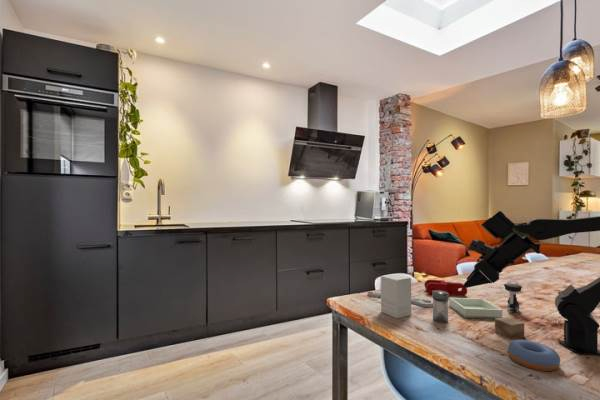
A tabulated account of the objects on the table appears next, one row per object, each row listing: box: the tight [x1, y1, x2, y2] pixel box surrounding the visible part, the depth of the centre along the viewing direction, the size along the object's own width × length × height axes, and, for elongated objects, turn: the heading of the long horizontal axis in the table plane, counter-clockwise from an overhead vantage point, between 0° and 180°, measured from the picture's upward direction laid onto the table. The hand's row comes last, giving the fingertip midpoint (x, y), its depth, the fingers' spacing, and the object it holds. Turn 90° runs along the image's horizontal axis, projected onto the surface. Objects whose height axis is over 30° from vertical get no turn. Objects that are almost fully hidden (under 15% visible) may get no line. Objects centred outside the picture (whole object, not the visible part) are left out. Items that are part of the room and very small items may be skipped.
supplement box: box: [380, 273, 412, 319], centre depth 103 cm, size 7×7×13 cm
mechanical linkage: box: [424, 278, 468, 297], centre depth 127 cm, size 16×7×5 cm, turn 73°
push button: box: [503, 281, 523, 314], centre depth 107 cm, size 7×5×10 cm
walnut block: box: [494, 316, 525, 340], centre depth 87 cm, size 5×5×4 cm
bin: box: [448, 297, 503, 320], centre depth 105 cm, size 12×12×3 cm
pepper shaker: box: [431, 290, 450, 324], centre depth 98 cm, size 5×5×9 cm
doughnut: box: [507, 339, 561, 372], centre depth 72 cm, size 10×10×5 cm
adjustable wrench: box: [367, 291, 433, 308], centre depth 119 cm, size 25×6×2 cm, turn 54°
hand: (466, 283), depth 94 cm, fingers open, 9 cm apart
